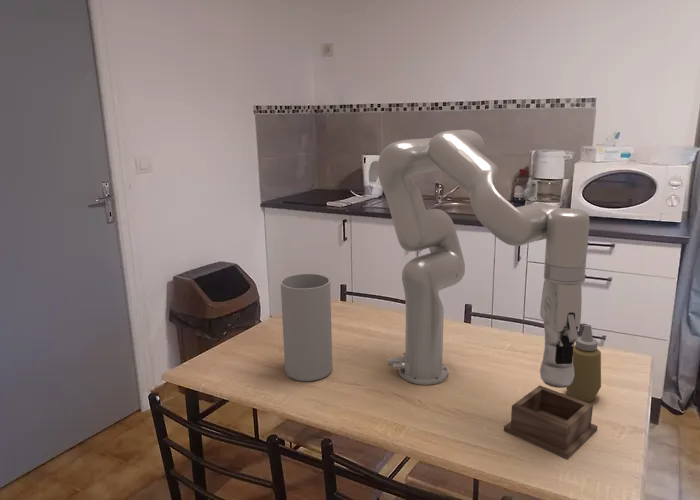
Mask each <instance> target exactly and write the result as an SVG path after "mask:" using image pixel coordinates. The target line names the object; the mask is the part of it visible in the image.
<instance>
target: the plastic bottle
mask: <svg viewBox="0 0 700 500" xmlns="http://www.w3.org/2000/svg"><path fill="white" fill-rule="evenodd" d="M548 313H549V312H548V311H545V313H544V316H543V319H542V320H543V329H544V348H543V349H544V350H543V356H542V361H541V364H540V368H539V374H540V379H541V380H542V381H543V383H544V384H545V385H546V386H549V387H552V388H558V389H564V388H566V387H568V386H570V385H571V383H572V382H573V379H574V376H575V375H574V366H573V358H572V363H571V364H556V362H555V356H556V344H558V332H554V331H553V330H552V329H551V328H550V327H549V323H550V320H549V314H548ZM563 330H568V328H567V326H565V327H564V329H563ZM567 335H568V333H563V338H564V337H565V336H567Z"/></svg>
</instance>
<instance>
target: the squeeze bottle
mask: <svg viewBox="0 0 700 500" xmlns="http://www.w3.org/2000/svg"><path fill="white" fill-rule="evenodd" d="M598 342H599V341H598V340H597V339H595V338H593V329H592V325H590V324H585V326H584V328H583V331H582V334H581V336H578V339H577V340H576V341H575V344H574V346H573V366H574V375H575V376H574V379H573V382H572V383H571V385H570V386H568V387H565V388H566V391H567V395H568V396H570V397H573V398H576V399H578V400H581V401H584V402H587V403H589V402H593V401H594V400H595V399H596V397H597V395H598V393H599V392H600V389H601V388H602V355H601V354H602V352H601V351H600V349H598Z"/></svg>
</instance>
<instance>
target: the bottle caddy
mask: <svg viewBox="0 0 700 500" xmlns="http://www.w3.org/2000/svg"><path fill="white" fill-rule="evenodd" d="M593 409H594V404H592V403H589V402H584V401H581V400H578V399H576V398H573V397H570V396H569V395H568V394H564V393H562V392H559V391H557V390H554V389H550V388H549V387H546V386H543V385H540V384H539V385H538V386H537V387H535V388H534V389H532V390H531V391H530V392H528V393H527V394H525V395H524V396H523V397H522V398H520V399H519V400H517V401H516V402H515V403H513V404H512V405H511V413H510V415H511V416H510V417H511V418H510V421H509V422H508V423H507V424H505V425H504V426H503V431H504V432H505V433H508V434H510V435H512V436H515V437H517V438H519V439H521V440H523V441H526V442H528V443H531V444H533V445H534V446H537V447H539V448H541V449H543V450H546V451H548V452H550V453H552V454H554V455H556V456H560V457H561V458H564V459H567V460H569V458H570V457H571V456H573V455H574V454H575V453H576V451H578V450H579V449H580V448H581V447H582V446H583V444H584V443H586V441H587V440H589V439H590V438H591V437H592V436H593V434H594V433H596V432H597V430H598V425H597V424H594V423H592V418H593Z"/></svg>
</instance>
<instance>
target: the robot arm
mask: <svg viewBox="0 0 700 500" xmlns="http://www.w3.org/2000/svg"><path fill="white" fill-rule="evenodd" d="M485 153H486V145H485V142H484V140H483V138H482V136H481V135H480V134H479V133H478V132H476V131H474V130H471V129H456V130H455V129H453V130H452V129H450V130H445V131H441V132H439V133H436V135H434V136H433V137H425V138H413V139H411V138H410V139H402V140H397V141H394V142H392V143H389V144H387V146H385V148H384V149H383V150H382V151H381V153H380V155H379V158H378V160H377V167H376V168H377V176H378V180H379V184H380V186H381V188H382V191H383V193H384V195H385V198H386V201H387V204H388V207H389V208H388V209H389V212H390V216H391V219H392V223H393V226H394V229H395V230H394V231H395V234H396V238H397V241H398V244H399V245H400V247H401V248H402V249H403V250H405V251H407V252H411V253H412V252H419V251H423V250H427V249H429V250H428V251H429V252H430V253H425V254H422V255H419V256H417V257H416V256H415V257H414V258H411V259H410V260H409V261H407V263H405V265H404V266H403V268H402V272H401V281H402V287H403V291H404V298H405V299H404V301H405V303H404V304H405V350H404V352H403V353H402V354H403V356H399V357H387V366H392V369H393V370H394V369H398V370H399V371H398V372H399V375H400V377H401V378H402V379H403V380H405V381H407V382H409V383H412V384H415V385H424V386H425V385H426V386H427V385H428V386H429V385H434V384H439V383H441V382H444V381H445V380H446V379H447V378H448V376H449V369H448V367H447V365H445V364H444V363H443V352H444V350H443V349H444V347H443V346H444V313H445V311H444V305H443V302H442V300H441V298H440V296H439V292H440V291H441V290H444V289H447V288H449V287H452V286H455V285H457V284H458V283H460V282H461V281H462V280H463V278H464V276H465V272H466V264H465V259H464V255H463V252H462V248H461V244H460V240H459V236H458V233H457V230H456V226H455V224H454V221H453V219H452V218H451V217H450V215H449V214H448V213H446V211H444V210H442V209H439V208H430V209H426V207H425V203H424V199H423V195H422V193H421V191H420V189H419V187H418V186H417V185H416V183H415V182H414V181H413V180H412V179H411V176H413V175H420V174H427V173H435V172H436V173H437V172H440V171H441V172H442V173H444V175H446V177H448V178H449V179H450V180H451V181H452V182H454V183H455V184H456V185H457V186H458V187H459V188H460V189H461V190H463V192H465V193H466V194H467V195H468V197H469V202H470V205H471V208H472V210H473V213H474V215H475V217H476V219H477V220H478V221H479V223H481V224H482V226H483V227H484V228H485V229H486V230H488V231H489V232H490V233H491V234H492V235H493V236H494V237H495V238H497V239H498V240H500V241H501V242H502V243H505V244H506V245H508V246H512V247H521V246H525V245H528V244H531V243H534V242H538V241H542V240H545V254H544V268H543V270H544V271H543V279H544V281H543V286H542V290H541V291H542V293H541V301H540V309H539V310H540V311H539V315H540V318H541V319H542V320H543V316H544V313H545V311H548V312H549V313H548V314H549V320H550V323H549V327H550V328H551V329H552V330H553V331H554V332H558V344H556V356H555V362H556V364H571V363H572V358H573V346H574V345H575V343H576V340H577V339H578V337H579V335H578V334H579V333H578V331H579V330H580V329H581V328H580V327H581V322H582V321H581V319H582V302H583V301H582V284H583V283H584V282H585V280H586V279H585V277H586V268H587V267H586V265H587V256H588V255H587V254H588V243H589V232H590V216H589V214H588V212H586V211H585V210H583V209H579V208H570V207H569V208H565V207H564V208H561V207H558V206H555V205H551V204H548V203H543V202H535V203H529V204H526V205H521V206H517V207H515V206H514V205H513V204H512V203H510V202H509V201H508V200H507V199H506V198H505V197H503V196H502V194H500V192H499V191H498V190H497V189H496V186H495V183H496V182H497V179H498V176H499V167H498V165H496V163H494V162H493V161H492V160H490V159H489V158H488V157H487V156H486V155H485ZM565 326H567V328H568V330H563V329H564V327H565ZM563 333H568V335H567V336H565V337H564V338H563Z"/></svg>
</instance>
